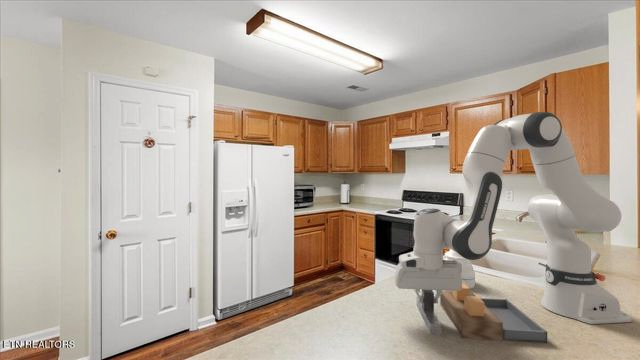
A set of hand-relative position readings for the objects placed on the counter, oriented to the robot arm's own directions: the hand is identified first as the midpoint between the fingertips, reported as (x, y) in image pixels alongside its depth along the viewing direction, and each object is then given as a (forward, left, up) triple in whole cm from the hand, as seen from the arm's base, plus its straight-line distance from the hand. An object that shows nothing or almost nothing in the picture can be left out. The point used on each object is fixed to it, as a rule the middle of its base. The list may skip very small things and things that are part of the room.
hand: (427, 302), depth 89 cm
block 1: (-12, -5, 0) cm, 13 cm away
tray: (-23, 0, -5) cm, 24 cm away
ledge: (-12, 0, -5) cm, 13 cm away
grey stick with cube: (0, 0, -5) cm, 5 cm away
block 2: (-12, +5, 0) cm, 13 cm away
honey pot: (-21, -32, -5) cm, 39 cm away
